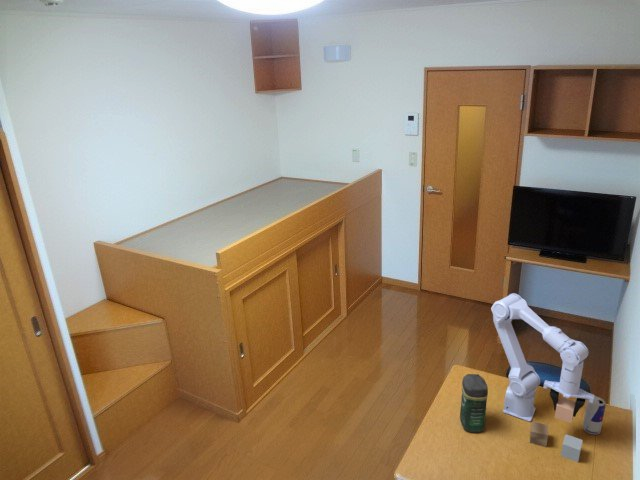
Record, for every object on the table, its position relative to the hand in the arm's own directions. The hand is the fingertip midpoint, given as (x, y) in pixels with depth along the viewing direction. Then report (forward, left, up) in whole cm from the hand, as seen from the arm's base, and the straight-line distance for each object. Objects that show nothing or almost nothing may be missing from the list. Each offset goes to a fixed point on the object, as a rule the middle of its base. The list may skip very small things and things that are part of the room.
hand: (565, 411), depth 160 cm
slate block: (+4, -7, -10) cm, 13 cm away
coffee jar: (-27, -10, -10) cm, 31 cm away
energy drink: (+8, +8, -10) cm, 15 cm away
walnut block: (-6, -6, -10) cm, 13 cm away
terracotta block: (0, 0, -2) cm, 2 cm away
